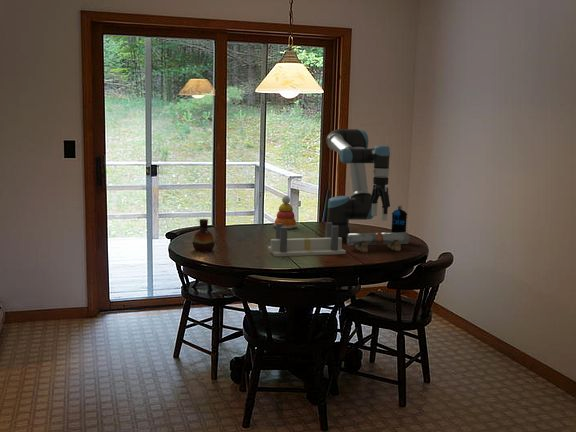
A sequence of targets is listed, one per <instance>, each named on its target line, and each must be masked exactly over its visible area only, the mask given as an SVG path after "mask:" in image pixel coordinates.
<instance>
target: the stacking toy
mask: <svg viewBox="0 0 576 432" xmlns="http://www.w3.org/2000/svg"><path fill="white" fill-rule="evenodd" d="M281 200H282V201H281V202H282V204H280V206H279V207H278V211H277V213H276V218H275V220H274V223H273V226H274V227H275V228H276V224H278V223H282V224H283V227H287V230H291V229H295V228H297V226H298V223H297V221H296V218H295V213H294V211H293V210H294V209H293V206H292V205H291V204H290V201H291V198H290V196H289V195H283V197H282V199H281Z"/></svg>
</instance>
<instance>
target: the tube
mask: <svg viewBox="0 0 576 432" xmlns="http://www.w3.org/2000/svg"><path fill="white" fill-rule="evenodd" d="M396 241H400V242H401V245H402V244H405V245H407V244H409V242H410V234H409V232H408V231H406V232H362V233H361V232H359V233H358V232H356V233H351V234H347V241H346V245H347V246H355V245H361V243H363V242H367V243H368V246H371V245H374V246H375V245H376V246H377V245H378V246H379V245H387V244H394V242H396Z"/></svg>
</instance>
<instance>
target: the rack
mask: <svg viewBox="0 0 576 432" xmlns="http://www.w3.org/2000/svg"><path fill="white" fill-rule="evenodd" d="M386 245H387V247H388V248H389V249H391V250H393V251H394V250H395V252H397V251H398V252H401V251H400V250H402V248H401V247H402V246H401V245H402V244H401V242H400V241H396V242H394V244H386ZM368 247H369V245H368V243H367V242H363V243H361V245H354V249H356V250H358V251H359V250H360V251H359V252H361V253H365V252H366V253H368Z"/></svg>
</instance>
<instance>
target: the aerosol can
mask: <svg viewBox="0 0 576 432" xmlns="http://www.w3.org/2000/svg"><path fill="white" fill-rule="evenodd" d="M402 207H403V206H402V205H397V209H396V210H394V211H393V212H391V215H392V216H391V232H407V218H408V213H407V212H406V211H405V210H403V208H402ZM391 232H390V233H391Z"/></svg>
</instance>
